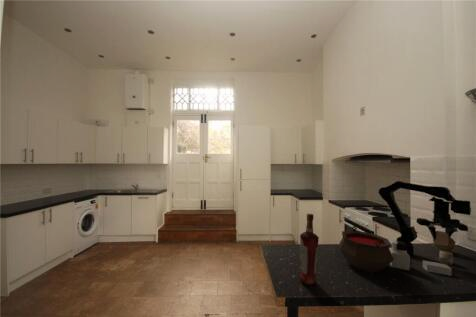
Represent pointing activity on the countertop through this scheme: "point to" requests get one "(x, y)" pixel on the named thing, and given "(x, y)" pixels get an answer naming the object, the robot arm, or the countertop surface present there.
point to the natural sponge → (447, 248)
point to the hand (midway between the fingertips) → (440, 240)
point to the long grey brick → (437, 268)
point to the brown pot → (365, 250)
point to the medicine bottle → (400, 255)
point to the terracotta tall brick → (441, 238)
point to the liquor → (308, 253)
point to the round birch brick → (446, 257)
